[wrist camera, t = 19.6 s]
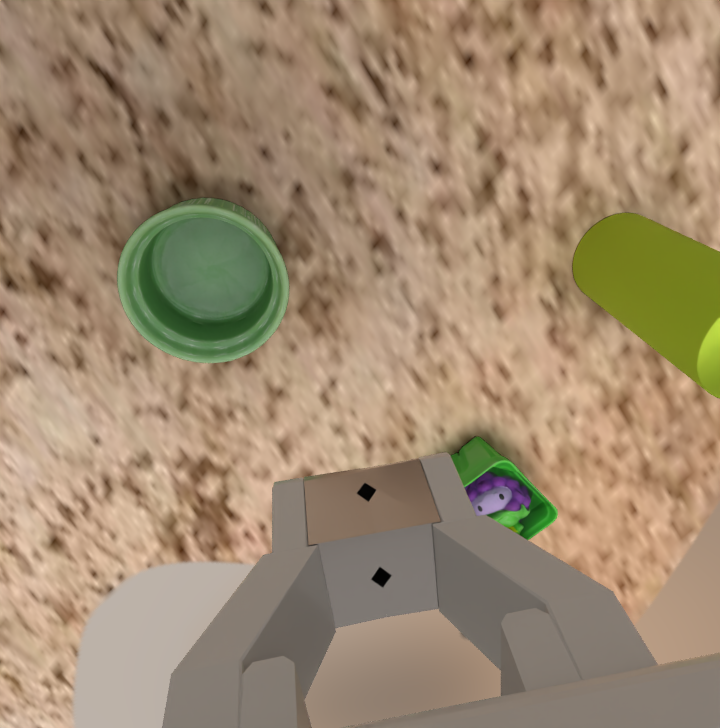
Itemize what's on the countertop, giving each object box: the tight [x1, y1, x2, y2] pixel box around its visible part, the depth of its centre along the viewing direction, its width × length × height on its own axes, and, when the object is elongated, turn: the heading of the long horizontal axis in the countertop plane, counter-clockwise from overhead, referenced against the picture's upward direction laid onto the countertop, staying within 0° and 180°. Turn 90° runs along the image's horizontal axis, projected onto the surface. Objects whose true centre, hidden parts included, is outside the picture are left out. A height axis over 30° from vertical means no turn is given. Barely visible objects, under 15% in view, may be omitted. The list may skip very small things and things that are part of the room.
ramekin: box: [117, 198, 289, 363], centre depth 34 cm, size 9×9×4 cm
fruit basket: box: [451, 437, 558, 540], centre depth 42 cm, size 11×9×11 cm
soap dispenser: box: [573, 213, 720, 398], centre depth 30 cm, size 6×7×20 cm
